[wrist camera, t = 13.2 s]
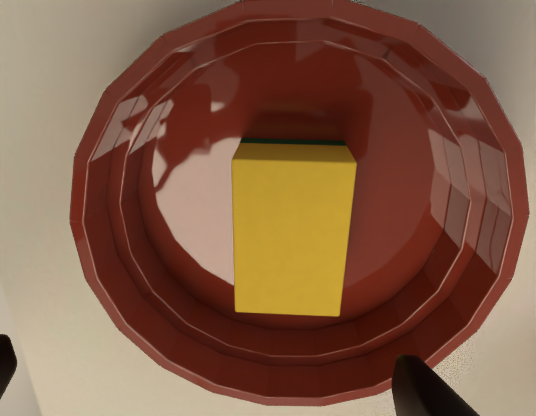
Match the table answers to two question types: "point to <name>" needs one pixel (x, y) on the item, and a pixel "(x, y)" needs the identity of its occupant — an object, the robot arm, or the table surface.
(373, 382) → the wash bowl
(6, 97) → the table surface
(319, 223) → the sponge
